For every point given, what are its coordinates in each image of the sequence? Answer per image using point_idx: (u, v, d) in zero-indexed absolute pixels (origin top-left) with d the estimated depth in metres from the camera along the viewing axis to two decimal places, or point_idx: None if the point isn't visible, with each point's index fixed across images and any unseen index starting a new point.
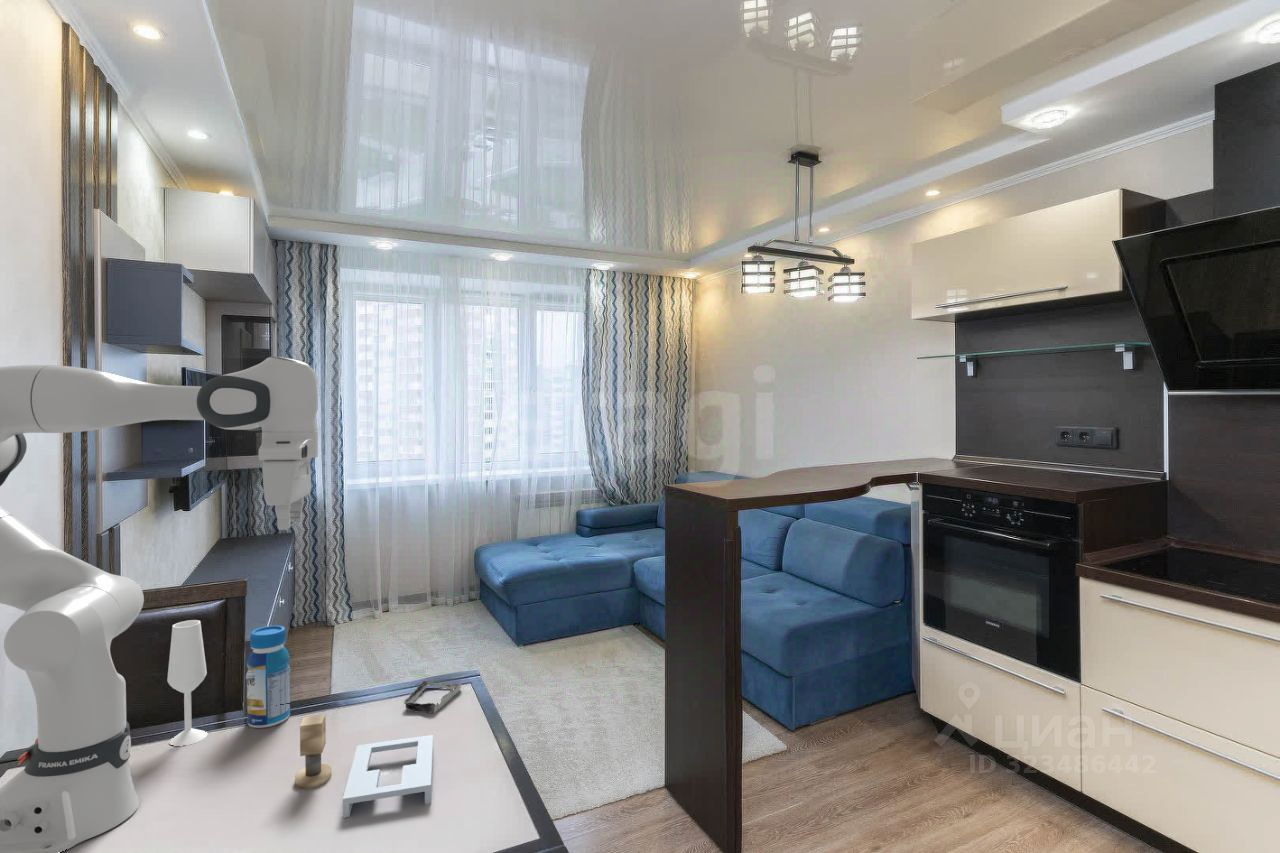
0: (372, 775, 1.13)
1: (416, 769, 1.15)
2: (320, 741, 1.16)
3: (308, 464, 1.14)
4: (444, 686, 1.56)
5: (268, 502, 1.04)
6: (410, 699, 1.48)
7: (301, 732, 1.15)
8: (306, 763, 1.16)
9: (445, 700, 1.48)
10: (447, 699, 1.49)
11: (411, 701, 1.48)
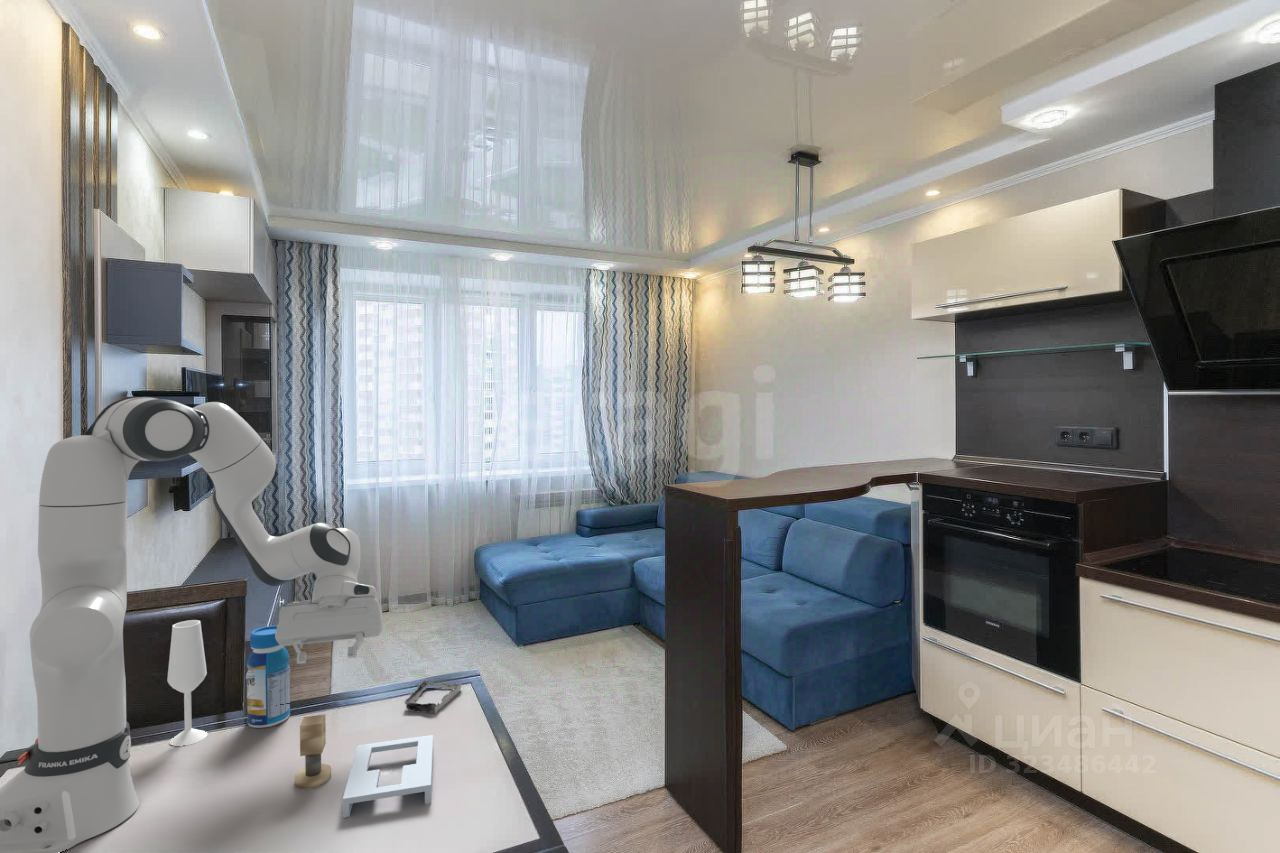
0: (372, 775, 1.13)
1: (416, 769, 1.15)
2: (320, 741, 1.16)
3: None
4: (444, 686, 1.56)
5: (379, 627, 1.34)
6: (410, 699, 1.47)
7: (301, 732, 1.15)
8: (306, 763, 1.16)
9: (446, 701, 1.48)
10: (448, 699, 1.49)
11: (411, 701, 1.48)
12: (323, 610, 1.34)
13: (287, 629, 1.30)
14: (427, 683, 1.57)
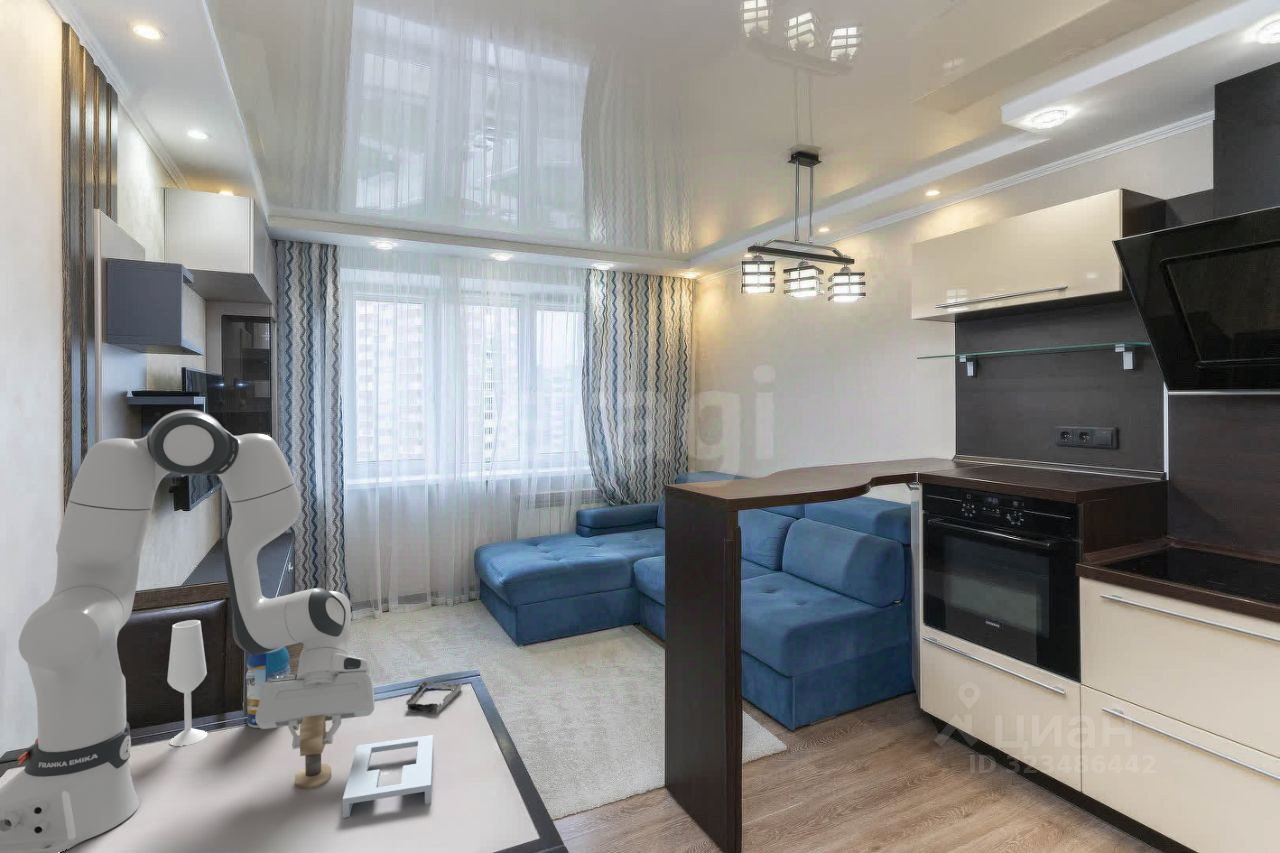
0: (372, 775, 1.13)
1: (416, 769, 1.15)
2: (320, 741, 1.16)
3: None
4: (444, 686, 1.56)
5: (371, 706, 1.22)
6: (411, 700, 1.47)
7: (301, 732, 1.15)
8: (306, 763, 1.16)
9: (447, 701, 1.48)
10: (449, 699, 1.49)
11: (412, 702, 1.48)
12: (309, 687, 1.22)
13: (269, 710, 1.18)
14: (427, 683, 1.56)
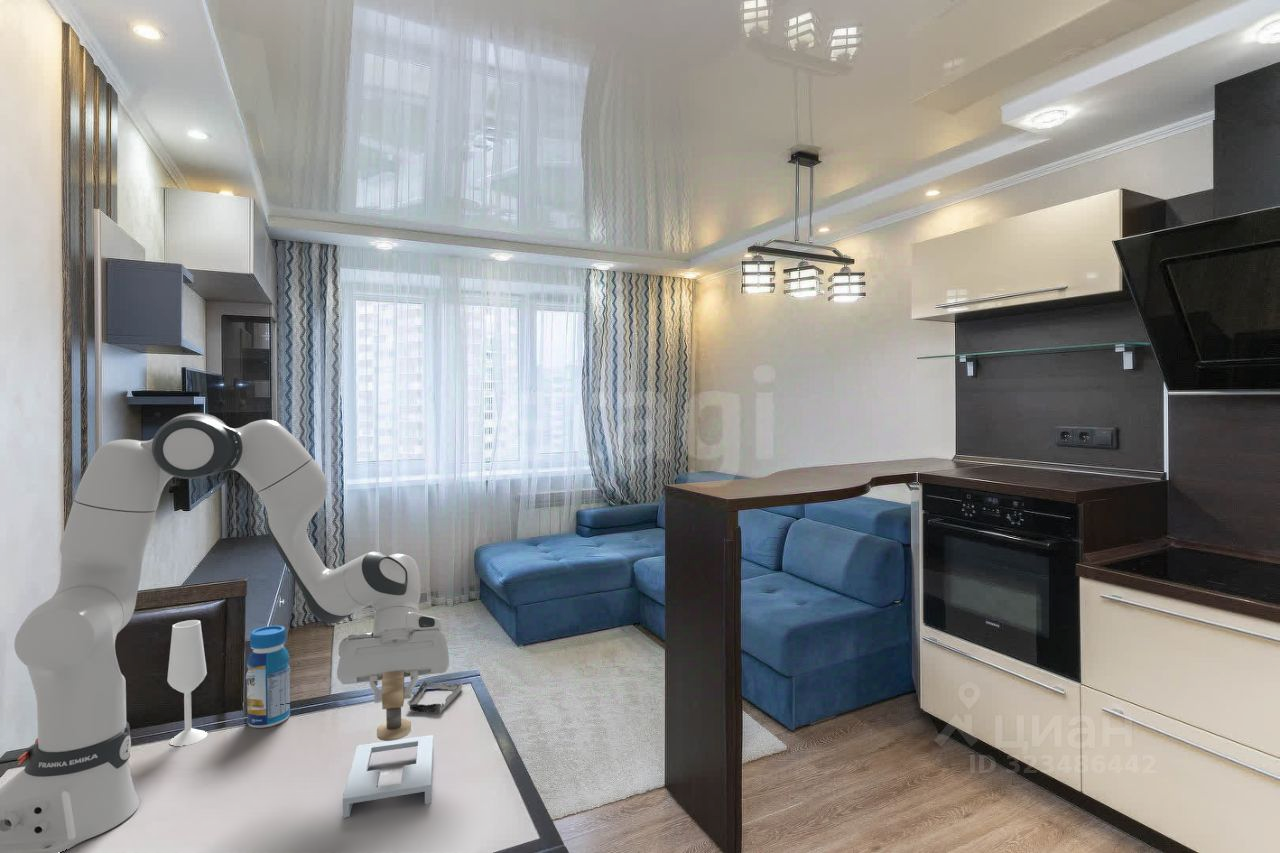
0: (372, 775, 1.13)
1: (416, 769, 1.15)
2: (401, 695, 1.18)
3: None
4: (445, 687, 1.56)
5: (447, 663, 1.24)
6: (413, 700, 1.47)
7: (383, 685, 1.17)
8: (387, 717, 1.18)
9: (449, 701, 1.48)
10: (450, 699, 1.49)
11: (414, 702, 1.47)
12: (386, 644, 1.24)
13: (350, 666, 1.20)
14: (427, 684, 1.56)
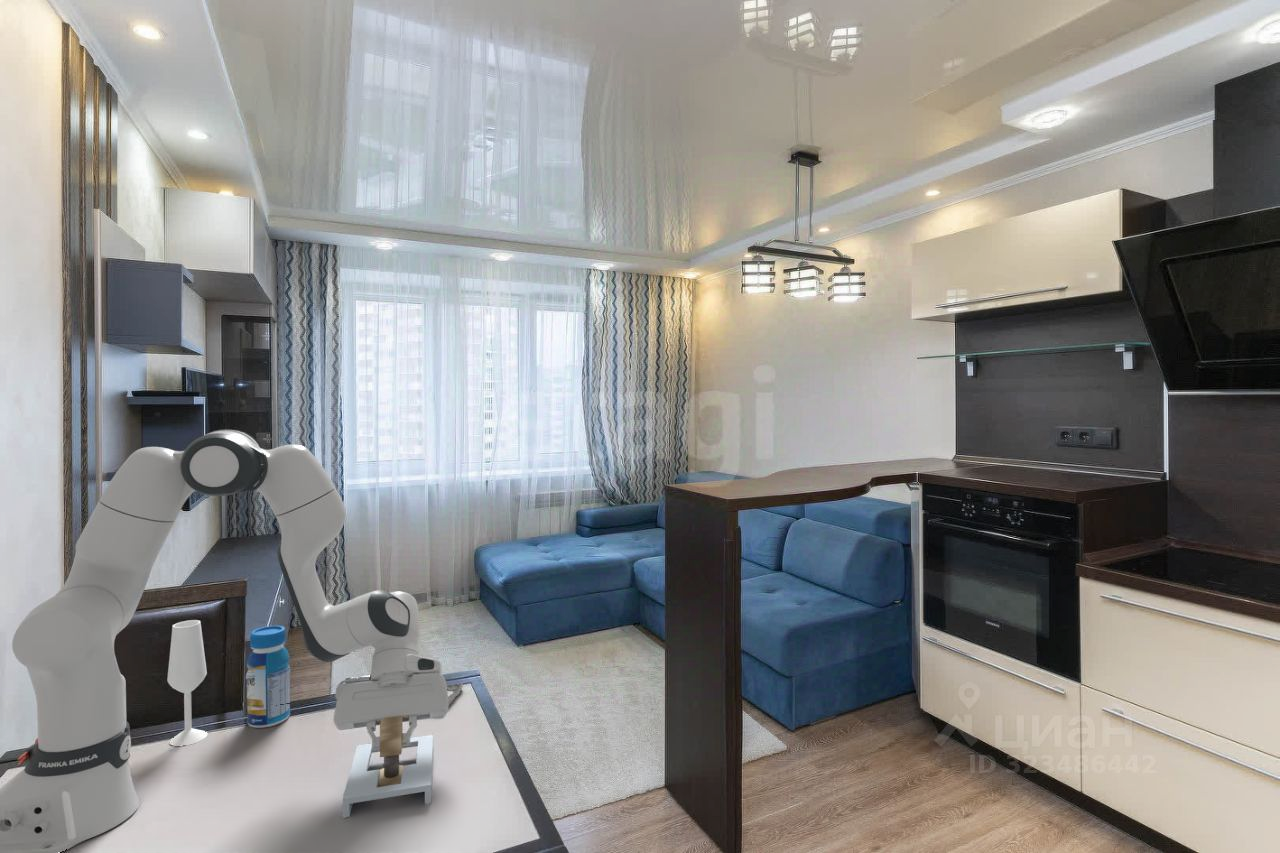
0: (372, 775, 1.13)
1: (416, 769, 1.15)
2: (399, 742, 1.15)
3: None
4: None
5: (446, 707, 1.21)
6: None
7: (381, 733, 1.14)
8: (385, 764, 1.16)
9: (450, 701, 1.48)
10: (451, 699, 1.49)
11: None
12: (385, 688, 1.21)
13: (347, 712, 1.17)
14: None
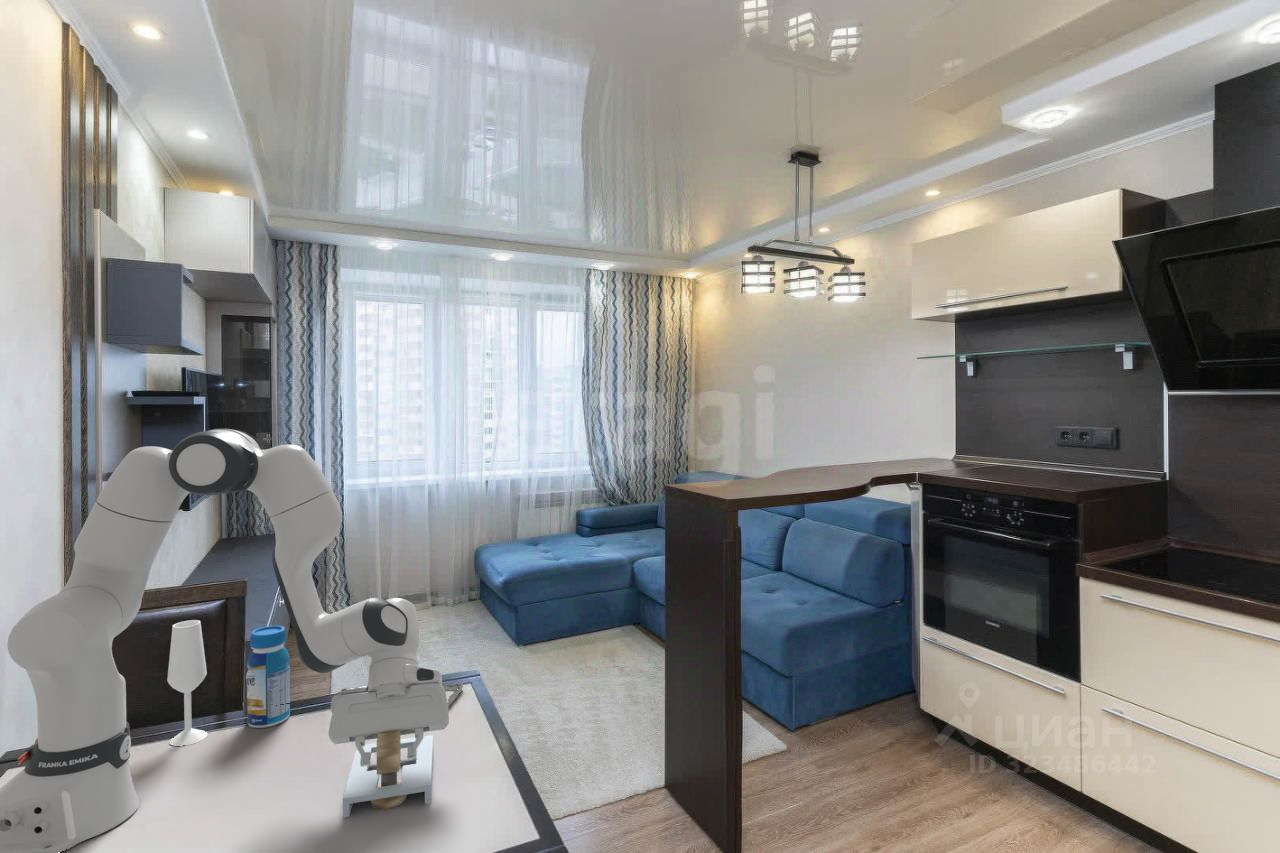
0: (372, 775, 1.13)
1: (416, 769, 1.15)
2: (397, 759, 1.10)
3: None
4: (445, 687, 1.56)
5: (446, 720, 1.16)
6: None
7: (378, 749, 1.09)
8: (382, 782, 1.10)
9: (451, 700, 1.48)
10: (452, 699, 1.49)
11: None
12: (382, 700, 1.16)
13: (342, 725, 1.12)
14: None
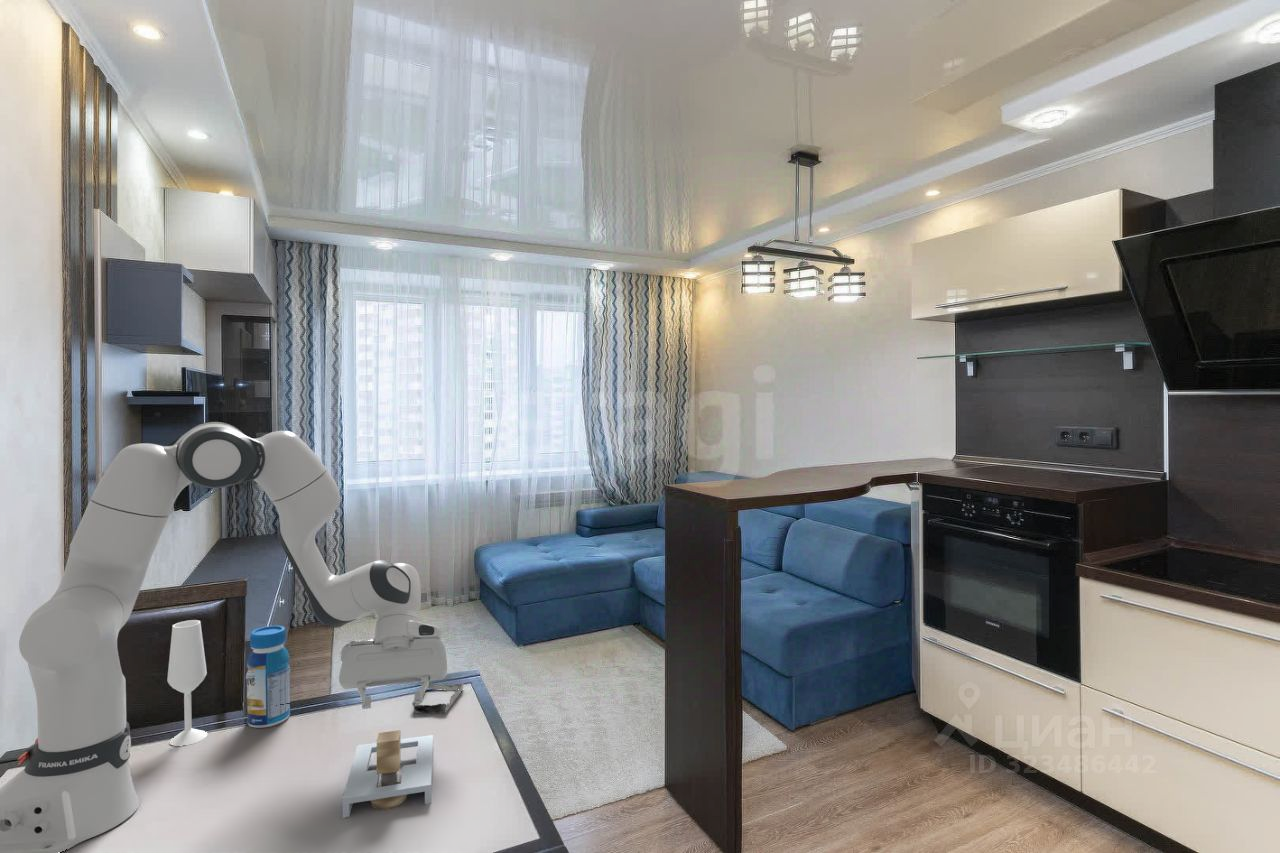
0: (372, 775, 1.13)
1: (416, 769, 1.15)
2: (397, 759, 1.10)
3: None
4: (445, 687, 1.56)
5: (445, 670, 1.29)
6: None
7: (378, 749, 1.09)
8: (382, 782, 1.10)
9: (452, 700, 1.48)
10: (454, 699, 1.49)
11: (417, 704, 1.47)
12: (387, 651, 1.28)
13: (351, 671, 1.24)
14: None
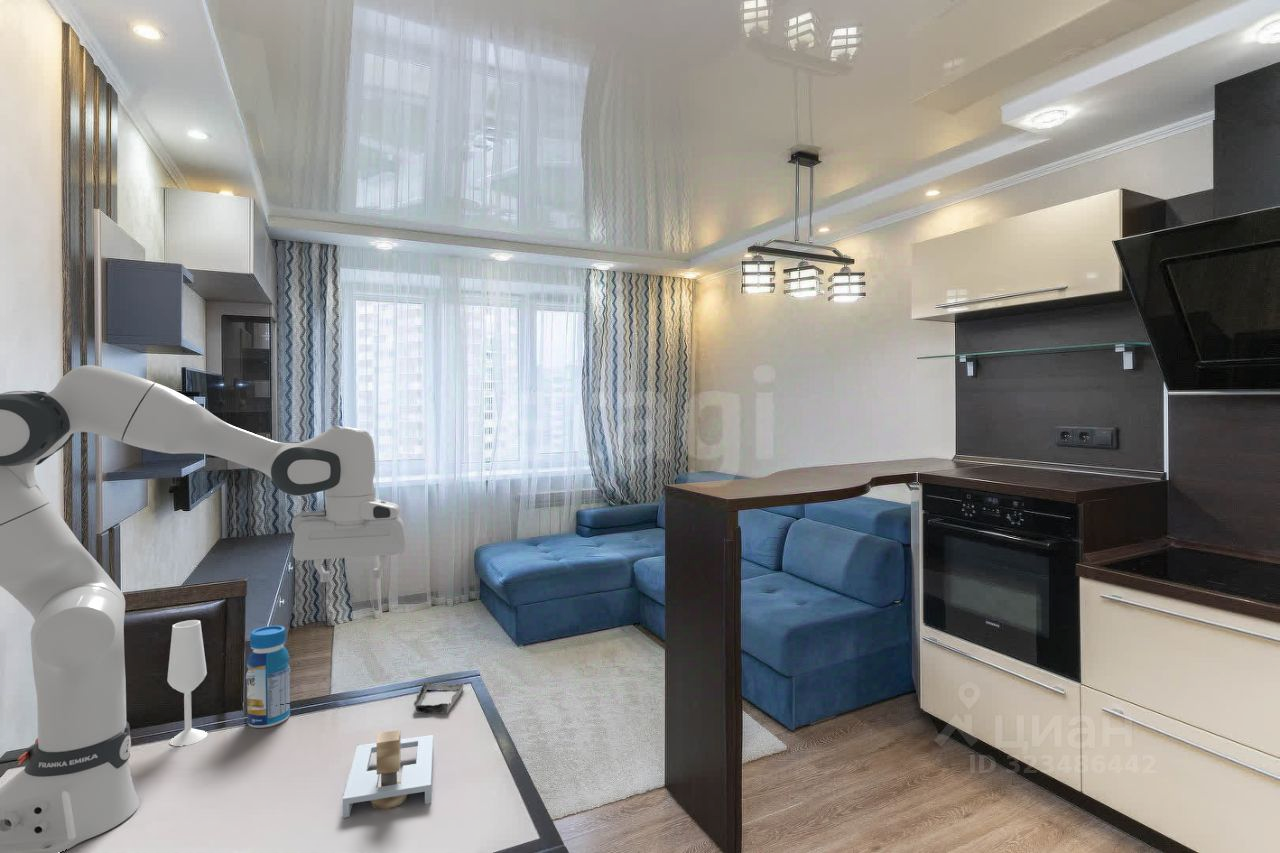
0: (372, 775, 1.13)
1: (416, 769, 1.15)
2: (397, 759, 1.10)
3: None
4: (445, 687, 1.55)
5: None
6: (417, 702, 1.46)
7: (378, 749, 1.09)
8: (382, 782, 1.10)
9: (454, 700, 1.48)
10: (455, 699, 1.49)
11: (418, 704, 1.46)
12: (341, 529, 1.22)
13: (305, 550, 1.20)
14: (427, 685, 1.55)
